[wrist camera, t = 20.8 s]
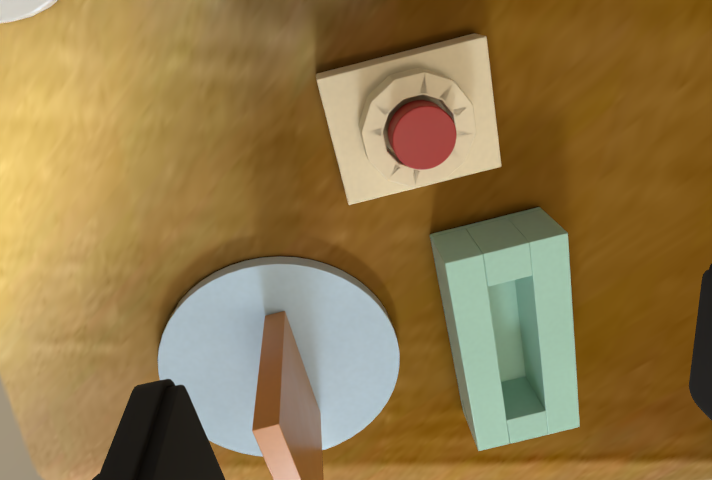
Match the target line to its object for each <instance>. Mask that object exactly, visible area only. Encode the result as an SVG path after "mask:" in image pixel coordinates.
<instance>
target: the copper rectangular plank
mask: <svg viewBox="0 0 712 480" xmlns="http://www.w3.org/2000/svg"><path fill="white" fill-rule="evenodd" d="M252 432H253V434H254V436H255V439H256V441H257V443H258V446H259V448H260V450H261V453H262V455H263V457H264V460H265V462H266V464H267V466H268V469H269V471H270V473H271V476H272V478H273V480H323V457H322V435H321V413H320V410H319V407H318V404H317V401H316V399H315V396H314V393H313V390H312V387H311V384H310V381H309V378H308V376H307V373H306V370H305V367H304V364H303V361H302V358H301V355H300V353H299V350H298V347H297V344H296V341H295V338H294V335H293V332H292V330H291V327H290V324H289V321H288V318H287V315H286V312H285V311H282V312H278V313H274V314H270V315H266V316H265V319H264V328H263V337H262V346H261V355H260V364H259V373H258V382H257V391H256V399H255V408H254V417H253V426H252Z"/></svg>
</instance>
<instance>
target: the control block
mask: <svg viewBox="0 0 712 480" xmlns="http://www.w3.org/2000/svg"><path fill="white" fill-rule="evenodd" d="M316 79H317V84H318V88H319V92H320V95H321V99H322V103H323V107H324V111H325V115H326V119H327V123H328V127H329V130H330V134H331V138H332V142H333V146H334V150H335V154H336V158H337V162H338V165H339V169H340V173H341V177H342V181H343V185H344V189H345V193H346V197H347V200H348V204H349V205H351V204H355V203H359V202H363V201H367V200H371V199H375V198H378V197H382V196H386V195H390V194H394V193H398V192H402V191H406V190H410V189H414V188H418V187H422V186H426V185H430V184H434V183H438V182H442V181H446V180H450V179H454V178H458V177H462V176H466V175H470V174H474V173H478V172H482V171H486V170H490V169H494V168H498V167H501V158H500V149H499V141H498V132H497V123H496V115H495V106H494V97H493V89H492V80H491V71H490V63H489V54H488V45H487V37H486V36H483V35H480V34H476V33H474V34H470V35H466V36H462V37H458V38H454V39H450V40H446V41H443V42H439V43H435V44H431V45H427V46H423V47H419V48H415V49H411V50H407V51H403V52H400V53H396V54H392V55H388V56H384V57H380V58H376V59H372V60H368V61H364V62H360V63H357V64H353V65H349V66H345V67H341V68H337V69H333V70H329V71H325V72H321V73H317V74H316ZM415 100H427V101H431V102H433V103H435V104H437V105H438V106H440V107H441V108H442V109H443V110H444V111H445V112H447V113H448V114H449V115H450V117H451V118H452V120H453V122H454V124H455V127H456V134H457V136H456V143H455V146H454V149H453V151H452V153H451V154H450V156H449V157H448V158H447V159H446V160H445V161H444V162H443V163H441V164H440V165H438V166H436V167H434V168H431V169H426V170H417V169H413V168H410V167H408V166H406V165H405V164H403V163H402V162H401V161H400V160H399V159H398V158H397V156H396V154H395V153H394V151H393V149H392V147H391V145H390V143H389V139H388V127H389V123H390V121H391V118H392V117H393V115H394V114H395V112H396V111H397V110H398V109H399V108H400V107H401V106H403V105H404V104H406V103H408V102H411V101H415Z"/></svg>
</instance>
